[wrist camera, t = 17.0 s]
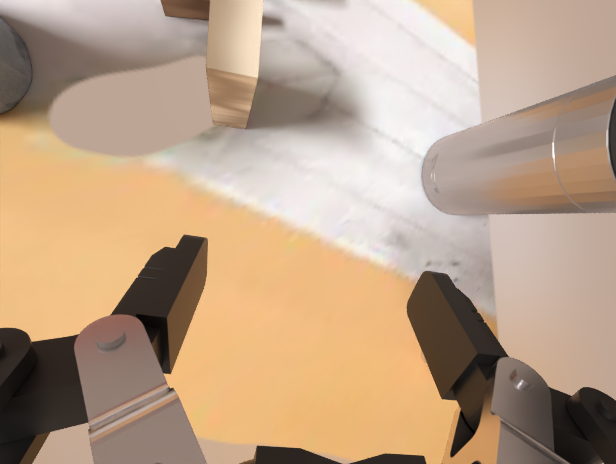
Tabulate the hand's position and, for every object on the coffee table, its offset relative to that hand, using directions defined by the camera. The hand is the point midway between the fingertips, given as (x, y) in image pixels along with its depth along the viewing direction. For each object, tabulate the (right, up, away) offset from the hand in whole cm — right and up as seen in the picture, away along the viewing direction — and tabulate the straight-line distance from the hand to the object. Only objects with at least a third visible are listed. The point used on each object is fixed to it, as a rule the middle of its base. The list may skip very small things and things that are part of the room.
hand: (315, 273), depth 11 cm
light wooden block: (-8, +14, +17) cm, 23 cm away
